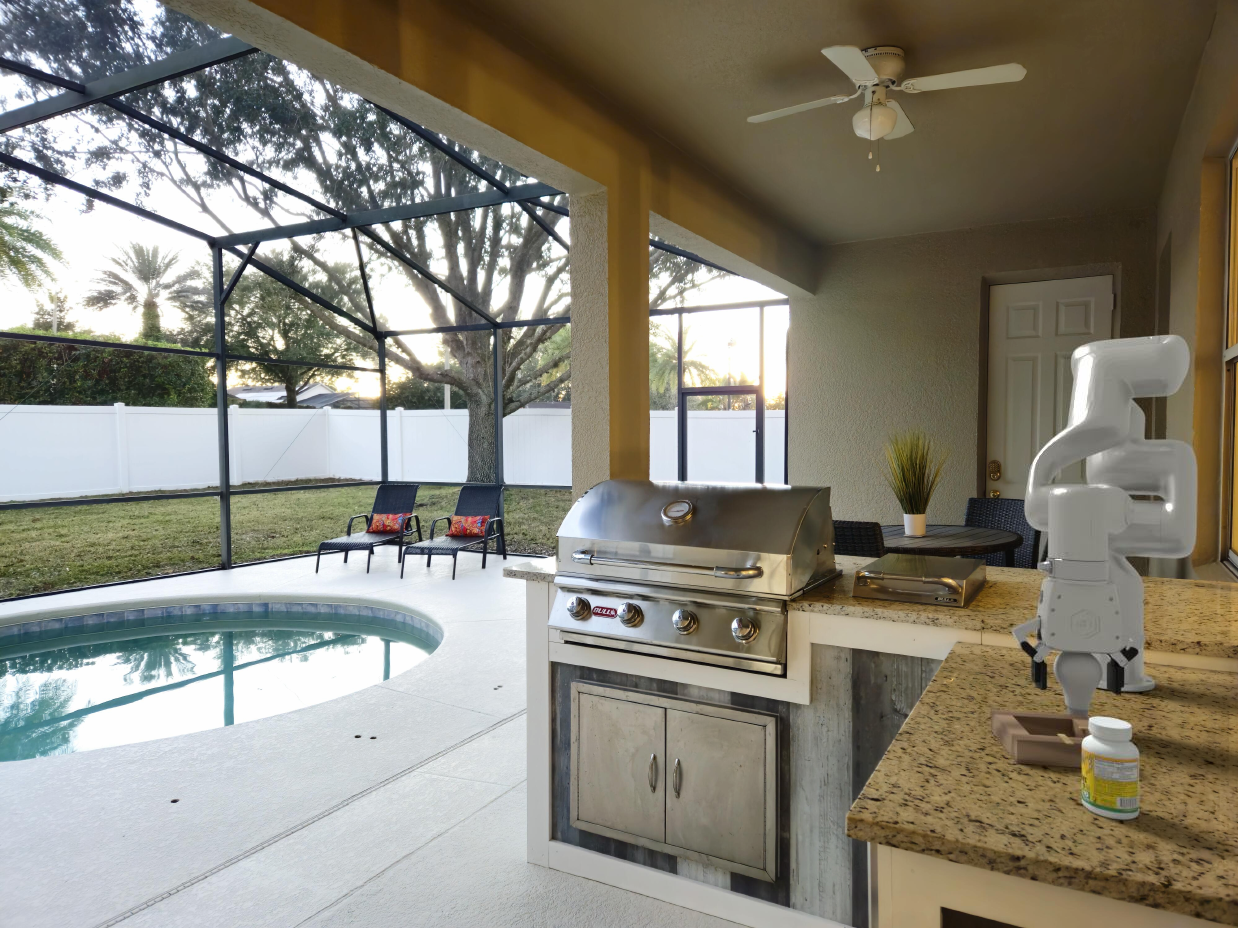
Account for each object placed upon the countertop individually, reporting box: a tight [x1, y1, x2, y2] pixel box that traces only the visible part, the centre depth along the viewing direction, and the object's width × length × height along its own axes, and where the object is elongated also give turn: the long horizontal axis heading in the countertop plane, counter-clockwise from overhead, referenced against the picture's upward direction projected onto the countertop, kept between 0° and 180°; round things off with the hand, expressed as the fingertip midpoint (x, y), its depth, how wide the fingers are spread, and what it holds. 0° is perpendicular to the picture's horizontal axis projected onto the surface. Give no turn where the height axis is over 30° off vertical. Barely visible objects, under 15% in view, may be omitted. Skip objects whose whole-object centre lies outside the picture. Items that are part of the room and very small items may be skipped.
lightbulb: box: [1053, 652, 1102, 719], centre depth 111 cm, size 6×6×11 cm
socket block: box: [990, 709, 1092, 769], centre depth 102 cm, size 12×12×3 cm
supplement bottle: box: [1081, 716, 1140, 821], centre depth 84 cm, size 5×5×10 cm
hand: (1076, 689), depth 111 cm, fingers open, 9 cm apart
